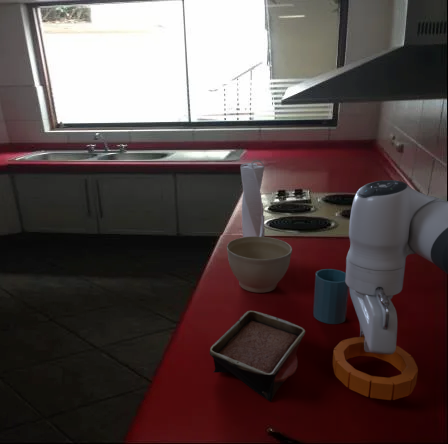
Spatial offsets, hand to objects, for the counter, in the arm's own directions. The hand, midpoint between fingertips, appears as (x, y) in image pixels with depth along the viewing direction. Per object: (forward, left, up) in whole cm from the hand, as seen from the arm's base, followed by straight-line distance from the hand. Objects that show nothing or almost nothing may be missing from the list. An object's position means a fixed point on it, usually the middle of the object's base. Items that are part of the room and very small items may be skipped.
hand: (367, 345), depth 76 cm
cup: (+4, -17, -4) cm, 18 cm away
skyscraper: (+23, -61, -4) cm, 65 cm away
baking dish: (+19, +5, -4) cm, 21 cm away
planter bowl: (+20, -30, -4) cm, 36 cm away
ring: (0, +5, -2) cm, 6 cm away
